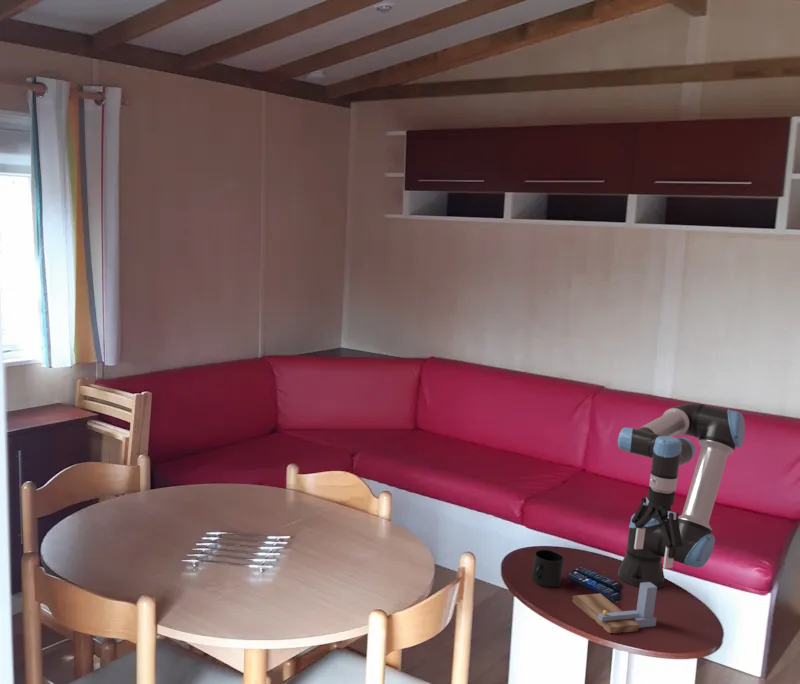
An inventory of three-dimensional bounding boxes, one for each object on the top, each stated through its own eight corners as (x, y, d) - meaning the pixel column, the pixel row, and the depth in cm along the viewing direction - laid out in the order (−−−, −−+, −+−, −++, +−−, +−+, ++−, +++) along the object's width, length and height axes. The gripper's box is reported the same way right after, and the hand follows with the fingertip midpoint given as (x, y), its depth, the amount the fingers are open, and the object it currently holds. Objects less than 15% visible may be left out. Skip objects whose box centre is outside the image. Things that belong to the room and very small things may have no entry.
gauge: (645, 617, 236) (650, 580, 234) (655, 626, 231) (660, 588, 230) (594, 623, 230) (599, 584, 228) (603, 631, 225) (608, 592, 223)
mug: (522, 582, 253) (525, 556, 252) (541, 572, 262) (544, 547, 261) (547, 592, 247) (550, 566, 246) (565, 582, 256) (568, 556, 255)
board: (599, 599, 246) (600, 593, 246) (638, 630, 227) (639, 624, 227) (572, 601, 242) (573, 595, 242) (609, 633, 224) (610, 627, 223)
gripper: (625, 476, 237) (617, 541, 240) (680, 504, 214) (670, 577, 217) (645, 475, 240) (637, 540, 243) (701, 503, 217) (691, 575, 220)
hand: (652, 558), depth 230 cm, fingers open, 13 cm apart
